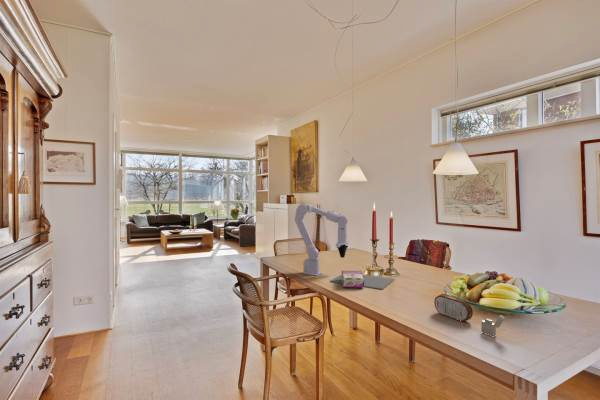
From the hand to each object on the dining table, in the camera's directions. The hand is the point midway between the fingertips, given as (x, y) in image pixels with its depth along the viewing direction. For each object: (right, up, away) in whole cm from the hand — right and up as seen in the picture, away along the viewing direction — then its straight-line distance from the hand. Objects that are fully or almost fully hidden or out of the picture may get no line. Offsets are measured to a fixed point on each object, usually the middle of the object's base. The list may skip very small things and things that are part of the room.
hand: (342, 257), depth 196 cm
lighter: (+40, -12, -86) cm, 96 cm away
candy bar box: (+3, -8, -14) cm, 16 cm away
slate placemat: (+9, -11, -15) cm, 21 cm away
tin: (+34, -12, -69) cm, 78 cm away
